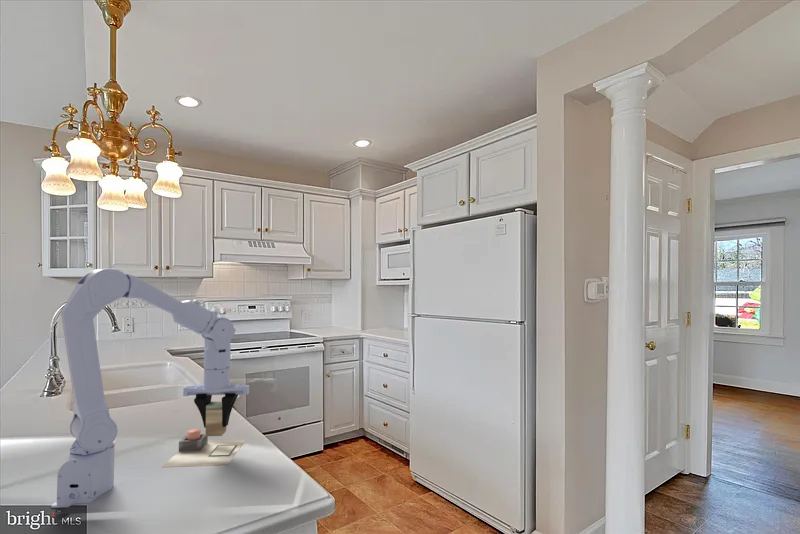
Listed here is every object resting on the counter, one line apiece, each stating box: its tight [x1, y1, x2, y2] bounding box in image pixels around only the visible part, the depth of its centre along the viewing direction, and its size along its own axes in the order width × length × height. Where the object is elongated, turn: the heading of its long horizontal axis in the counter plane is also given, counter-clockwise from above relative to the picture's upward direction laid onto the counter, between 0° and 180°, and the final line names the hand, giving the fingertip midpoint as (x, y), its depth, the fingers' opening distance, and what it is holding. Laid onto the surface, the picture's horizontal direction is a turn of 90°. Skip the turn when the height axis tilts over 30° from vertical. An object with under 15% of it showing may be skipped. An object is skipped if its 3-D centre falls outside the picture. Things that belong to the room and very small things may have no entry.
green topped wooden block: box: [205, 400, 227, 437], centre depth 103 cm, size 4×4×7 cm
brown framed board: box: [161, 433, 246, 468], centre depth 104 cm, size 18×16×3 cm
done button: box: [186, 428, 201, 440], centre depth 108 cm, size 3×3×3 cm
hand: (216, 425), depth 103 cm, fingers closed on green topped wooden block, 4 cm apart
